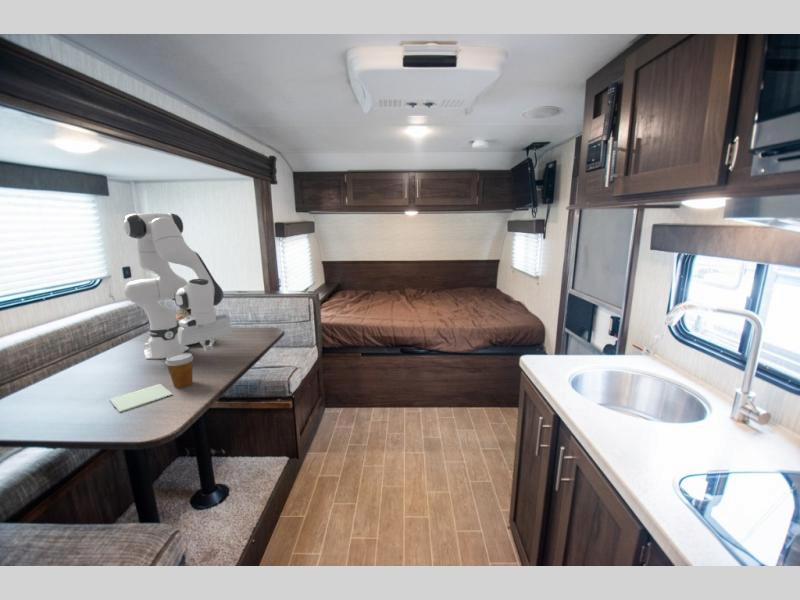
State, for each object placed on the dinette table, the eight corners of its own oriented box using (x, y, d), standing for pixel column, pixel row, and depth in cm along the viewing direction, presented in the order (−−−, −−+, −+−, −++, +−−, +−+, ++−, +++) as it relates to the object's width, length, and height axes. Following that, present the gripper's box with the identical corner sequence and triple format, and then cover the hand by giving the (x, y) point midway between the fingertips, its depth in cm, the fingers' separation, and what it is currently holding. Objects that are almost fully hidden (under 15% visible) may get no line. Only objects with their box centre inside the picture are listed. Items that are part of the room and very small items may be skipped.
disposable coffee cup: (172, 381, 139) (168, 354, 136) (199, 377, 142) (195, 351, 140) (166, 391, 130) (161, 362, 128) (194, 387, 133) (190, 359, 131)
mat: (109, 400, 123) (109, 399, 123) (160, 385, 136) (159, 383, 136) (119, 412, 115) (119, 411, 115) (172, 395, 127) (172, 393, 127)
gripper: (226, 312, 149) (229, 342, 152) (173, 322, 133) (178, 355, 136) (232, 314, 145) (236, 344, 148) (179, 324, 129) (184, 358, 132)
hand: (208, 349), depth 142 cm, fingers closed
